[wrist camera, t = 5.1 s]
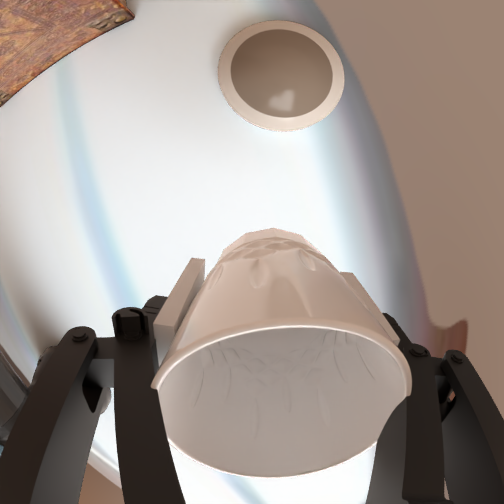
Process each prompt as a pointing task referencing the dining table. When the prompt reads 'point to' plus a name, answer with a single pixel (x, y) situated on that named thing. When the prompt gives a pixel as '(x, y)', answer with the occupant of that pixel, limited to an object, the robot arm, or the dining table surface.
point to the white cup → (278, 365)
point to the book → (49, 34)
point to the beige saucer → (280, 75)
